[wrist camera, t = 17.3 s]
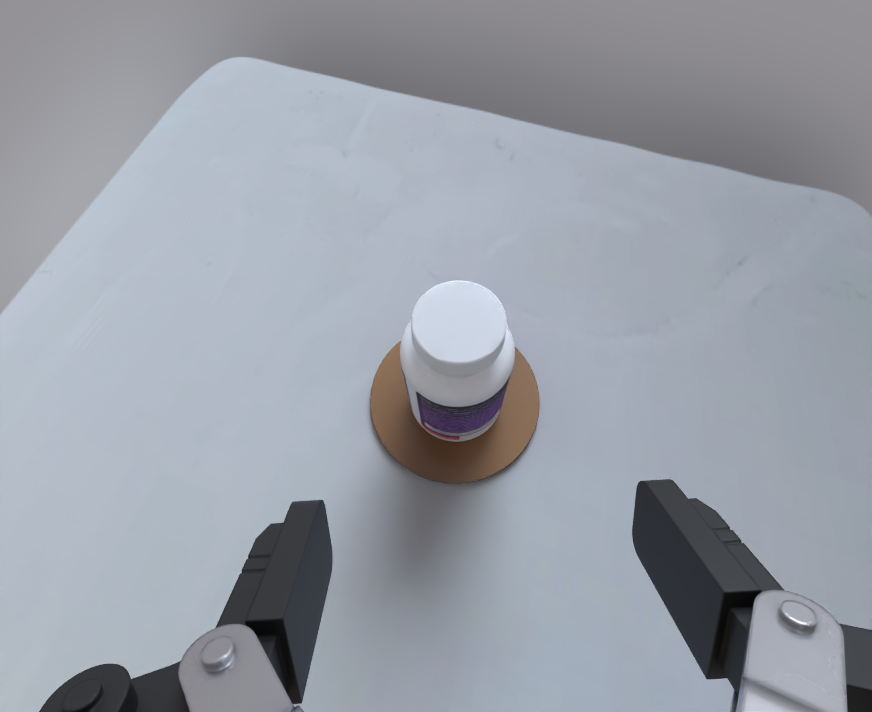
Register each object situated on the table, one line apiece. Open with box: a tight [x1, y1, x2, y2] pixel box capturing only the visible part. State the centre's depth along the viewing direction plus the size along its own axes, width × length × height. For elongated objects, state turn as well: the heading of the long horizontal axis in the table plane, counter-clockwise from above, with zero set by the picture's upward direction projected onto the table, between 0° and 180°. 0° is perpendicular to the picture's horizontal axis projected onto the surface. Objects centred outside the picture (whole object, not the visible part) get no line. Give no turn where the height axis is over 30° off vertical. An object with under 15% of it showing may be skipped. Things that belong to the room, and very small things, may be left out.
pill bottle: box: [400, 280, 515, 442], centre depth 25 cm, size 5×5×10 cm
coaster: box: [371, 341, 539, 483], centre depth 29 cm, size 10×10×1 cm
